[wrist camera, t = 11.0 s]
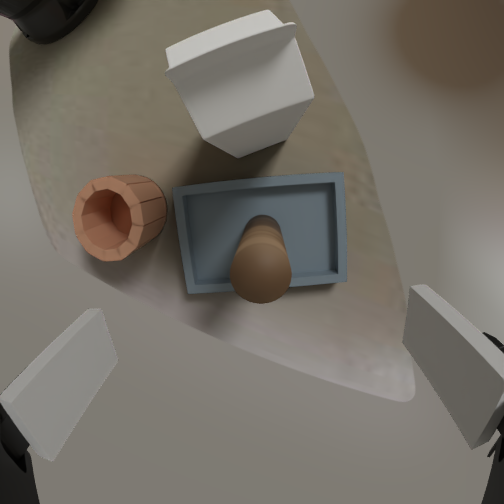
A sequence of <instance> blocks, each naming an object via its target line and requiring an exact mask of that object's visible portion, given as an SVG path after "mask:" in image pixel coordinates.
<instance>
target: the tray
mask: <svg viewBox="0 0 504 504" xmlns="http://www.w3.org/2000/svg"><path fill="white" fill-rule="evenodd" d="M172 191H173V199H174V207H175V215H176V222H177V229H178V236H179V243H180V250H181V256H182V262H183V268H184V274H185V280H186V286H187V291H188V294H196V293H214V292H229V291H235V290H234V288H233V286H232V284H231V280H230V268H231V265H232V262H233V259H234V256H235V254H236V251H237V248H238V245H239V243H240V240H241V237H242V235H243V232H244V229H245V226H246V224H247V223H248V221H249V220H250V219H251V218H253V217H254V216H257V215H268V216H271V217H273V218H274V219H275V220H276V221H277V222H278V224H279V226H280V229H281V232H282V236H283V240H284V244H285V247H286V251H287V255H288V259H289V262H290V266H291V271H292V278H291V282H290V285H289V287H295V286H306V285H317V284H328V283H338V282H347V232H346V206H345V188H344V173H343V172H332V173H312V174H296V175H282V176H270V177H258V178H248V179H238V180H228V181H219V182H211V183H203V184H195V185H187V186H180V187H174V188H172Z"/></svg>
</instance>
